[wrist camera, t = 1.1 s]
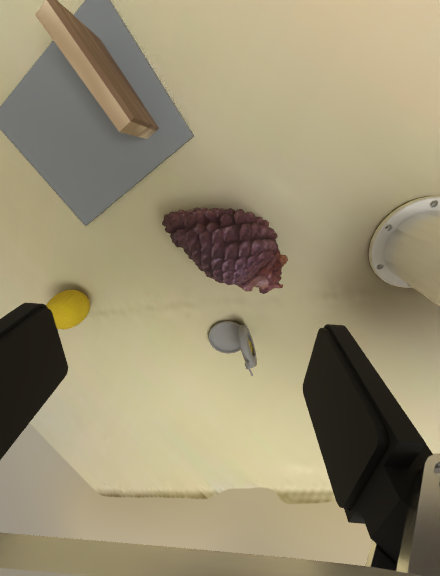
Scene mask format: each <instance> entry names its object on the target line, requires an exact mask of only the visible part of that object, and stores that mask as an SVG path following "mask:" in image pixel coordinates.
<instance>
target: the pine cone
mask: <svg viewBox="0 0 440 576" xmlns="http://www.w3.org/2000/svg"><path fill="white" fill-rule="evenodd" d="M162 225H164V226H166V228H165V231H166V232H168V233H171V236H170V237H171V239H172V242H173V243H174V244H175V245H176V247H182V248H184V251H185V253H186V254H188V255H189V258H190V259H192V260H193V261H194V262H195V264H196V265H197V266H198V268H199V269H200V270H201V271H204V272H205V274H206V276H207V277H210V278H213V279H215V281H218V282H219V283H226V284H227V285H232V284H235V285H238V286H239V287H241V288H242V289H243V290H245V291H252V288H253V287H259V289H260V290H259V291H260V293H263V294H264V293H267V292H268V291H270V290H271V289H273V288H282V287H283V285H280V284H279V282H278V281H280V280H281V277H280V275H281V274H282V272H281V268H282V267H283V266H284V264H285V263H286V262H287V261H288V259H287V257H286V256H285V255H280V252H279V250H278V245H277V243H276V241H275V239H276V238H277V234H276V233H274V232H275V231H274V230H273V229H271V228H269V227H268V226H269V222H268V221H267V220H262V217H255V215H254V214H253V213H252V212H247V213H244V211H243V210H242V209H239V210H237V211H236V212H235V210H233V209H228V210H226V211H225V210H224V209H218V208H214V209H212V210H211V209H210V210H208V209H206V208H202V209H200V208H195V209H194V210H188V211H184V210H179V211H178V212H170V213H169V215H168V214H167V215H165V216H164V221H163V223H162Z"/></svg>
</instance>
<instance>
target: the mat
mask: <svg viewBox="0 0 440 576" xmlns="http://www.w3.org/2000/svg"><path fill="white" fill-rule="evenodd" d="M74 16H75V17H76V18H77V19H78V20H79V21H81V22H82V23H83V24H84V25H85V26H86V27H87V28H88V29H90V30H91V31H92V32H93V33H94V34H95V35H96V36H97V37H99V38H100V39H101V41H102V42H103V44H104V45H105V47H106V48H107V50H108V52H109V53H110V55H111V56H112V58H113V59H114V61H115V62H116V64H117V65H118V67H119V68H120V70H121V71H122V73H123V74H124V76H125V77H126V79H127V80H128V82H129V83H130V85H131V86H132V88H133V89H134V91H135V92H136V94H137V95H138V97H139V98H140V100H141V101H142V103H143V105H144V106H145V108H146V109H147V111H148V112H149V114H150V115H151V117H152V118H153V120H154V121H155V123H156V124H157V126H158V127H159V129H158V130H157V131H156V132H155V133H153V134H152V135H151V136H150V137H149V138H148V139H145V138H141V137H137V136H133V135H129V134H126V133H122V132H119V131H118V129H117V128H116V127H115V125H114V124H113V122H112V121H111V120H110V118H109V117H108V115H107V114H106V113H105V111H104V110H103V109H102V107H101V106H100V104H99V103H98V102H97V100H96V99H95V97H94V96H93V95H92V93H91V92H90V90H89V89H88V88H87V86H86V85H85V83H84V82H83V81H82V79H81V78H80V77H79V75H78V74H77V72H76V71H75V70H74V68H73V67H72V65H71V64H70V63H69V61H68V60H67V58H66V57H65V56H64V54H63V53H62V51H61V50H60V49H59V47H58V46H57V44H56V43H55V42H54V40H53V41H52V43H51V44H50V45H49V46H48V48H47V49H46V50H45V51H44V53H43V54H42V55H41V56H40V58H39V59H38V60H37V61H36V63H35V64H34V65H33V66H32V68H31V69H30V70H29V71H28V73H27V74H26V75H25V76H24V78H23V79H22V80H21V81H20V83H19V84H18V85H17V86H16V88H15V89H14V90H13V91H12V93H11V94H10V95H9V96H8V98H7V99H6V100H5V101H4V103H3V104H2V105H1V106H0V129H1V131H2V132H3V133H4V134H5V135H6V136H7V137H8V139H9V140H10V141H11V142H12V143H13V144H14V145H15V147H16V148H17V149H18V150H19V151H20V152H21V153H22V155H23V156H24V157H25V158H26V159H27V160H28V161H29V162H30V164H31V165H32V166H33V167H34V168H35V169H36V170H37V172H38V173H39V174H40V175H41V176H42V177H43V178H44V180H45V181H46V182H47V183H48V184H49V185H50V186H51V188H52V189H53V190H54V191H55V192H56V193H57V194H58V195H59V197H60V198H61V199H62V200H63V201H64V202H65V203H66V205H67V206H68V207H69V208H70V209H71V210H72V211H73V213H74V214H75V215H76V216H77V217H78V218H79V219H80V221H81V222H82V223H83V224H84V225H85V226H86V225H88V224H89V223H90V222H92V221H93V220H94V219H95V218H96V217H98V216H99V215H100V214H101V213H102V212H104V211H105V210H106V209H107V208H108V207H110V206H111V205H112V204H113V203H114V202H116V201H117V200H118V199H119V198H120V197H122V196H123V195H124V194H125V193H126V192H128V191H129V190H130V189H131V188H132V187H134V186H135V185H136V184H137V183H138V182H140V181H141V180H142V179H143V178H144V177H146V176H147V175H148V174H149V173H150V172H152V171H153V170H154V169H155V168H156V167H158V166H159V165H160V164H161V163H162V162H164V161H165V160H166V159H167V158H168V157H170V156H171V155H172V154H173V153H174V152H176V151H177V150H178V149H179V148H180V147H182V146H183V145H184V144H185V143H186V142H188V141H189V140H190V139H191V138H192V137H194V135H193V134H192V132H191V130H190V129H189V127H188V126H187V124H186V122H185V121H184V119H183V117H182V116H181V114H180V113H179V111H178V109H177V108H176V106H175V105H174V103H173V101H172V100H171V98H170V96H169V95H168V93H167V92H166V90H165V88H164V87H163V85H162V84H161V82H160V80H159V79H158V77H157V75H156V74H155V72H154V71H153V69H152V67H151V66H150V64H149V63H148V61H147V59H146V58H145V56H144V54H143V53H142V51H141V50H140V48H139V46H138V45H137V43H136V42H135V40H134V38H133V37H132V35H131V33H130V32H129V30H128V29H127V27H126V25H125V24H124V22H123V21H122V19H121V17H120V16H119V14H118V12H117V11H116V9H115V8H114V6H113V4H112V3H111V1H110V0H85V1H84V3H83V4H82V5H81V6H80V8H79V9H78V10H77V11H76V13H75V14H74Z"/></svg>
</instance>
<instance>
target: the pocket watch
mask: <svg viewBox="0 0 440 576" xmlns="http://www.w3.org/2000/svg"><path fill="white" fill-rule="evenodd" d="M209 342H210V344H211V345H212V347H213V348H214V349H216V350H217V351H220V352H223V353H235V352H237V351H239V350H241V351H242V354H243V357H244V359H245V366H246V369H249V371H250V373H251V375H252V376H253V374H252V372H251V370H250V368H252V367H255V366H256V365H257V359H256V352H255V347H254V344H253V340H252V337H251V335H250V332H249V330H248V328H247V327H246V325H239V324H238V323H235V322H232V321H223V322H219V323H217V324H216V325H214V326H213V327H212V329H211V330H210V333H209Z"/></svg>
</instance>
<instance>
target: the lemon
mask: <svg viewBox="0 0 440 576" xmlns="http://www.w3.org/2000/svg"><path fill="white" fill-rule="evenodd" d="M46 306H47V307H48V309H50V310H51V311H52V313H53V317H54V320H55V324H56V327H57V329H69V328H72V327H74V326H76V325H78V324H79V323H81V322H82V321H83V320H84V319H85V318H86V316H87V315H88V313H89V310H90V302H89V299H88V298H87V296H86V295H85V294H83V293H82V292H80V291H77V290H66V291H63V292H60V293H58V294H57V295H55V296H54V297H53V298H52V299H51V300H50V301H49V302H48V304H47V305H46Z"/></svg>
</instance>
